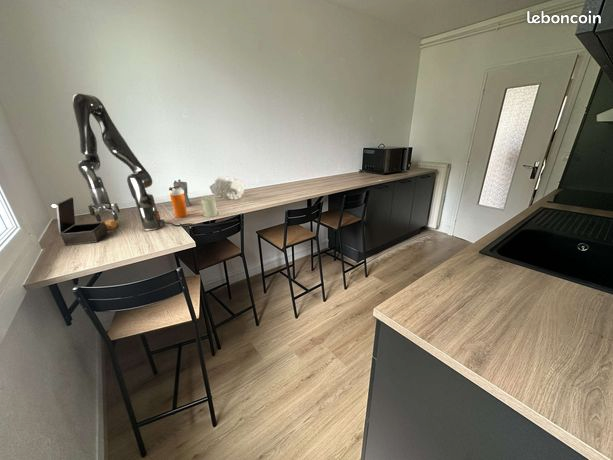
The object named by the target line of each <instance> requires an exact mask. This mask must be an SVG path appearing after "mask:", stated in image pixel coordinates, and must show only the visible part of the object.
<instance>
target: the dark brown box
mask: <svg viewBox="0 0 613 460" xmlns="http://www.w3.org/2000/svg"><path fill="white" fill-rule="evenodd" d="M108 234H109V231H108V230H107V228H106V225H105V221H103V222H102V221H101V222H92V223H90V222H89V223H81V224H74V225H73V226H71V227H70V228H68V229H67V230H65V231H64V232H62V233H60V237H61V239H62V241H63V243H64V246H67V247H68V246H76V245H85V244H96V243H99V242H100V241H101V240H102V239H103V238H105V237H106V236H107V235H108Z"/></svg>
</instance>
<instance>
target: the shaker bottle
mask: <svg viewBox="0 0 613 460" xmlns="http://www.w3.org/2000/svg"><path fill="white" fill-rule="evenodd" d="M168 190H169V191H168V195H169V197H170V200H171V205H172V208H173V211H174V215H175V218H179V219H180V218H181V219H182V218H185V217H188V211H187V210H188V209H187V207H186V203H185V197H184V190H183V189H181V186H175V187H174V186H173V187H170V186H169V187H168Z"/></svg>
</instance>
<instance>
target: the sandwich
mask: <svg viewBox="0 0 613 460" xmlns="http://www.w3.org/2000/svg"><path fill="white" fill-rule="evenodd" d="M104 222H105V225H106V228H107V230H114V229H115V228H117V227H118V223H117V221H115V220H114V219H106V220H105V221H104Z"/></svg>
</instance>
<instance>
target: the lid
mask: <svg viewBox="0 0 613 460" xmlns="http://www.w3.org/2000/svg"><path fill="white" fill-rule="evenodd" d="M51 208H56V217H57V228H58V233H59V234H61V233H63V232H64V231H66V230H67V229H69V228H70V227H72V226H74V225H76V220H75V219H76V218H75V203H74V197H69V198H67V199H65V200H63V201H58V202H56V203H53V204H52V205H51Z"/></svg>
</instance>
